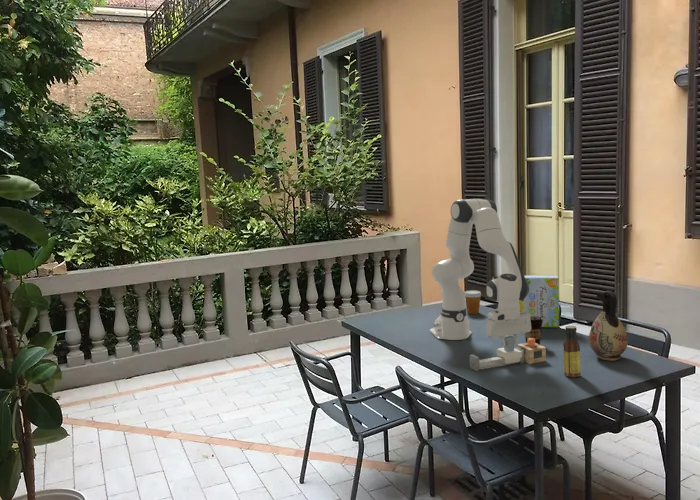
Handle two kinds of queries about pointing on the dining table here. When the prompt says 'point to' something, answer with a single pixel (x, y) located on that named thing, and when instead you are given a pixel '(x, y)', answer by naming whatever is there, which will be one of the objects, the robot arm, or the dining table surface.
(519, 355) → the carriage
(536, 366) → the dining table surface
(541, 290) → the snack box
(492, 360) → the rail
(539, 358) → the cabinet
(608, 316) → the ceramic jug
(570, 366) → the sauce bottle
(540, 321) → the coffee cup
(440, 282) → the robot arm
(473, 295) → the disposable coffee cup
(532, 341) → the button
